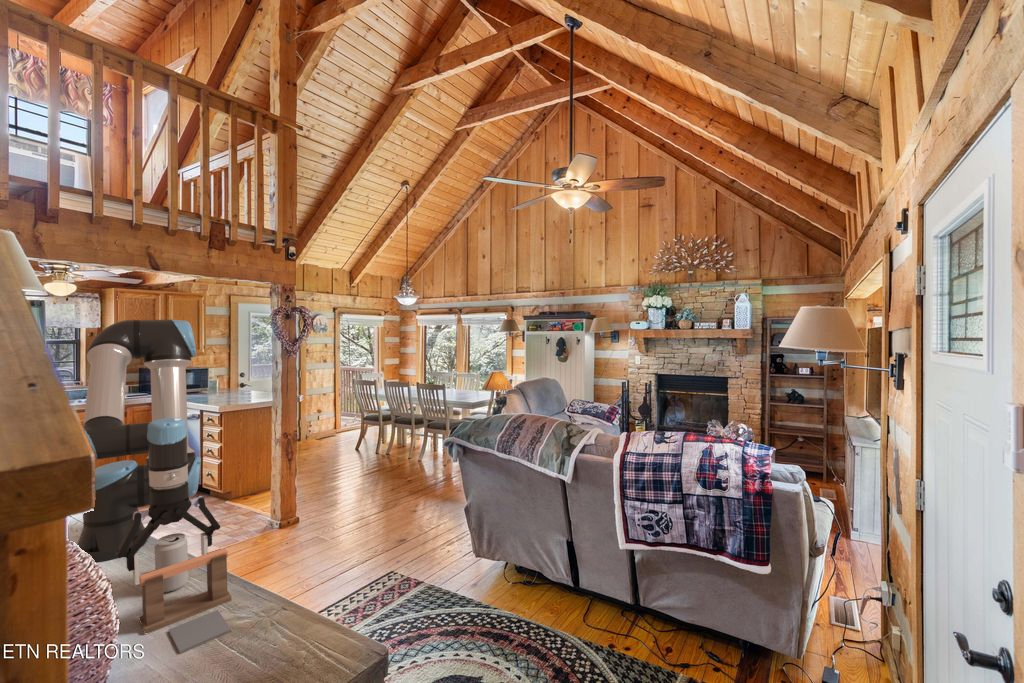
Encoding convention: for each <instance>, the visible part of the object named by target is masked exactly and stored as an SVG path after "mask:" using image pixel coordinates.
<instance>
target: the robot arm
mask: <svg viewBox="0 0 1024 683" xmlns="http://www.w3.org/2000/svg"><path fill="white" fill-rule="evenodd" d="M196 356H197V348H196V342H195V335H194V331H193V329H192V325H191V323H190V322H189V321H187V320H181V319H180V320H179V319H126V320H121V321H117V322H115V323H112V324H111V325H109V326H107V327H105V328H104V329H102V330H101V331H100V332H98V333H97V335H96V336H95V337H93V339H92V340H91V341H90V343H89V345H88V348H87V352H86V360H87V362H88V364H89V365H90V367H89V375H88V383H87V384H88V386H87V392H86V398H85V399H86V400H85V409H84V416H83V425H82V428H84V431H85V433H86V435H87V437H88V440H89V442H90V444H91V447H92V449H93V451H94V453H95V457H96V460H95V461H98V460H103V459H110V458H117V457H125V456H134V455H142V454H143V455H144V454H148V455H147V457H145V458H146V464H139V465H138V462H136V460H133V459H132V460H131V459H128V460H125V459H123V460H120V461H114V462H111V463H107V464H103V465H100V466H98V467H95V468H96V469H95V468H94V469H95V490H96V500H95V507H94V511H90V512H87V513H84V514H83V513H82V520H83V523H82V524H83V526H82V530H81V533H80V536H79V537H78V538H79V539H78V542H77V544H76V546H77V545H79V547H80V548H81V549H82V550H84V551H85V552H87V553H88V554H90V555H91V556H92V558H93V559H94V560H95V561H96V562H104V561H108V560H109V561H110V560H113V559H117V558H118V559H122V558H124V559H125V560H126V569H127V571H128V572H132V581H133V583H134V585H135V586H137V585H141V584H140V581H139V576H140V561H139V560H140V557H139V554H138V552H139V550H141V548H142V547H143V546H145V545H146V543H147V541H148V540H149V538H150V537H151V536H152V534H153V533H154V532H155V531H157V529H158V528H159V526H167V525H170V524H171V523H178V522H180V521H181V520H182V519H184V520H185V521H187V522H188V523H190V524H192V525H193V526H195V527H196V528H197V529H198V530H200V531H202V533H200V551H201V552H200V553H201V555H200V556H202V555H205V554H206V553H209V548H208V547H212V545H213V534H214V532H215V531H219V530H220V529H221V525H220V523H219V522H218V520H217V519H216V518H215V517H214V516H213V514H212V512H211V511H210V510H209V508H208V507H207V506H206V501H205V498H204V497H203V496H202V495H200V494H199V495H197V492H198V489H199V482H200V481H199V480H200V476H201V475H200V473H201V462H202V458H201V457H200V456H196V451H195V450H194V449H193V448H192V447H190V445H189V423H188V401H187V397H188V395H187V373H186V369H187V367H188V366H189V365H190V364H191V363H192V358H195V357H196ZM142 359H143V365H144V366H145V367H147V368H148V369H149V370H150V391H151V392H150V394H151V397H150V398H151V403H150V404H151V421H149V422H147V421H146V422H139V423H127V424H125V422H124V420H125V419H124V418H125V401H126V385H127V366H128V365H130V363H131V362H132V360H142ZM195 495H197V496H196V497H195ZM192 497H195V498H192ZM190 498H192V499H190ZM192 505H193V506H194V507H196V508H198V509H199V510H200V511H201V513H202V514H203V515H204V517H205V518H206V520H207V521H208V522H209V523H210V525H209V526H208V525H206V524H205V523H203V522H202V521H201V520H199V519H197V518H196V517H195V516H193V515H192V514H190V512H188V511H189V510H190V508H191V506H192ZM148 506H149V507H148ZM142 507H148V508H147V510H141V511H140V510H139V508H142ZM147 516H148V517H150V518H151V519H150V520H149V522H147V525H146V526H145V525H144V523H143V521H144V520H145V518H147ZM96 562H95V563H96Z"/></svg>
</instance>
